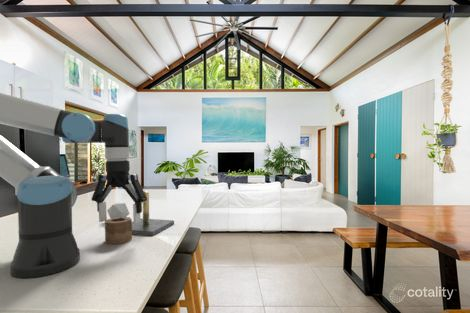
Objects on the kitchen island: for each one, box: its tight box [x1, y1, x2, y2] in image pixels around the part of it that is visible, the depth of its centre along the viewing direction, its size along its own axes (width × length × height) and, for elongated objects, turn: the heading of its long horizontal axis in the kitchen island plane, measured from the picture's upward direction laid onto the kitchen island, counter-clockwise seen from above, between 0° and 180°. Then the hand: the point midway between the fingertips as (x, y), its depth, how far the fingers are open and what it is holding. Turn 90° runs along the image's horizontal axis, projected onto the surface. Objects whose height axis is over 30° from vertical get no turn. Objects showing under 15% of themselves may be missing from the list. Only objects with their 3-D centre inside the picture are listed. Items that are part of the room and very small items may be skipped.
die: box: [106, 202, 130, 219], centre depth 118 cm, size 8×9×10 cm
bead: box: [104, 216, 133, 245], centre depth 91 cm, size 8×8×7 cm
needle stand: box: [132, 190, 175, 236], centre depth 105 cm, size 16×16×15 cm
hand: (119, 222), depth 91 cm, fingers open, 13 cm apart
